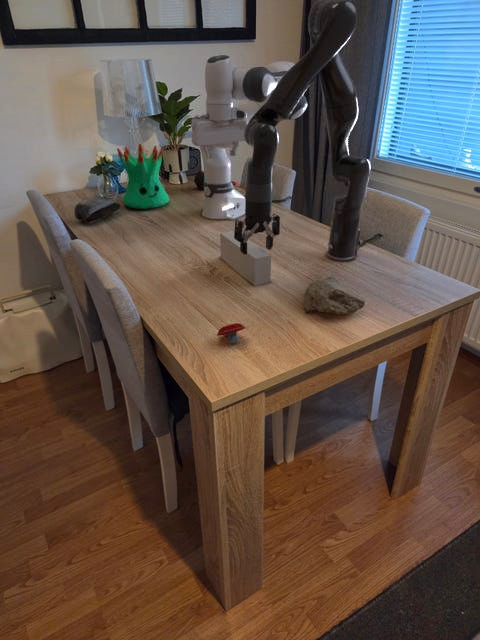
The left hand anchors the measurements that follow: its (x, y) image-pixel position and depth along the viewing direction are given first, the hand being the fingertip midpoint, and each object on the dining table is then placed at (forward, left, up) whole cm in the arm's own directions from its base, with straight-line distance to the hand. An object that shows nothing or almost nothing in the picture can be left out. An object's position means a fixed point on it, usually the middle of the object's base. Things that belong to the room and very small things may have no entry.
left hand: (221, 157), depth 153 cm
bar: (+13, +25, -30) cm, 41 cm away
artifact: (+12, +58, -30) cm, 67 cm away
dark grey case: (+24, -52, -30) cm, 64 cm away
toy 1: (-2, -56, -30) cm, 63 cm away
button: (+44, +53, -30) cm, 75 cm away
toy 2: (-39, -56, -30) cm, 74 cm away
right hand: (+15, +33, -20) cm, 42 cm away
